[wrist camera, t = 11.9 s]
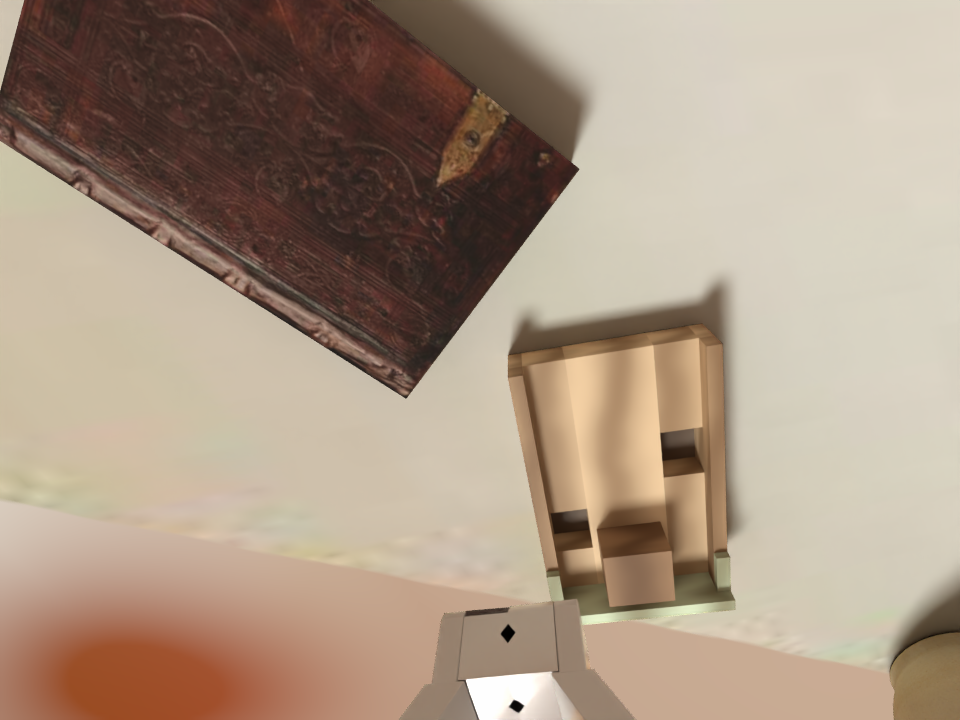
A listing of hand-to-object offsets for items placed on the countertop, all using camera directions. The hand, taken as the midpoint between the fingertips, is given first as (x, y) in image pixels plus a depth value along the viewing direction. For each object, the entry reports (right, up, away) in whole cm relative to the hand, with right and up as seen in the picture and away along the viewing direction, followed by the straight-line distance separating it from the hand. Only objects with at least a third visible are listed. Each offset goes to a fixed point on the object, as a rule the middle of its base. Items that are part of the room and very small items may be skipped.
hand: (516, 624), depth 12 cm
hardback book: (-12, +20, +23) cm, 33 cm away
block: (+11, -10, +31) cm, 35 cm away
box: (+10, -3, +31) cm, 33 cm away
